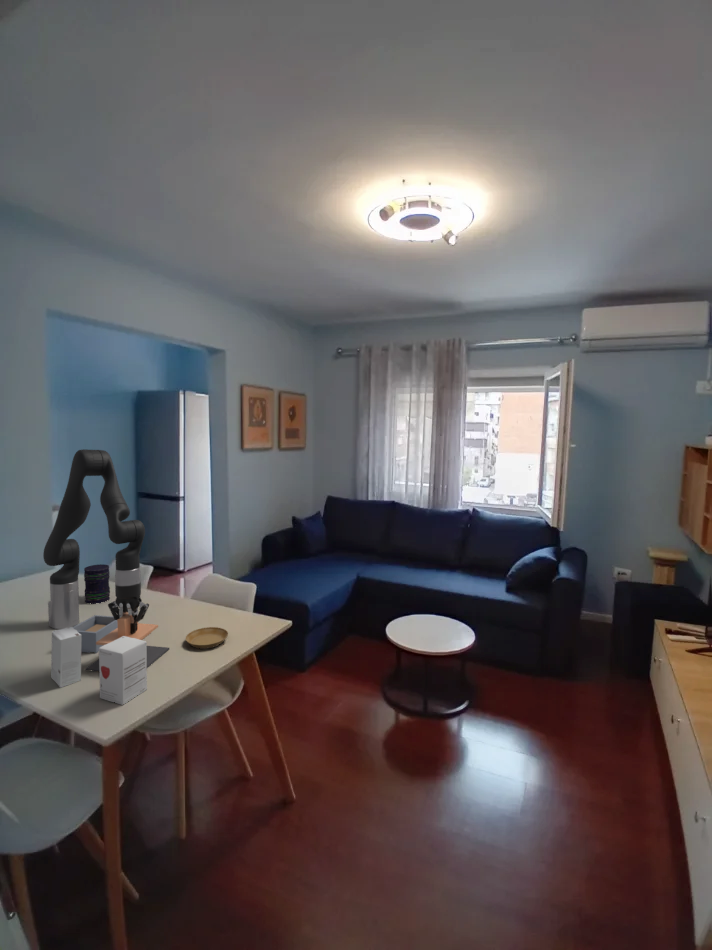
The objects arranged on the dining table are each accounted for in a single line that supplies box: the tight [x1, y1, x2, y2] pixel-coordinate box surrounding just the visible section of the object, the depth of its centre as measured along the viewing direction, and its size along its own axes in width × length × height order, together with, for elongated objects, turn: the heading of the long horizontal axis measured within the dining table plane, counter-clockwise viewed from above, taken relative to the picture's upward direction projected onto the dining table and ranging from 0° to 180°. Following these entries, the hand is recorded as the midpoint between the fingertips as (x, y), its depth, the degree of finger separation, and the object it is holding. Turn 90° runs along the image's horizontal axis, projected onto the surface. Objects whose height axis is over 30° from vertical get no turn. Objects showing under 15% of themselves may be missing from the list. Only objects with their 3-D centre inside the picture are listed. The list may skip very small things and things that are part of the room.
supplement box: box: [98, 636, 148, 706], centre depth 132 cm, size 9×9×15 cm
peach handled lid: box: [96, 613, 159, 645], centre depth 151 cm, size 15×12×8 cm
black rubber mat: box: [85, 645, 170, 672], centre depth 152 cm, size 18×18×1 cm
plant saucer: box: [184, 626, 229, 650], centre depth 167 cm, size 15×15×3 cm
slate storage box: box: [73, 614, 118, 654], centre depth 164 cm, size 14×11×7 cm
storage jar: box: [83, 563, 111, 605], centre depth 204 cm, size 10×10×15 cm
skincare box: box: [50, 626, 82, 688], centre depth 139 cm, size 8×6×15 cm
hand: (129, 632), depth 152 cm, fingers closed on peach handled lid, 2 cm apart
